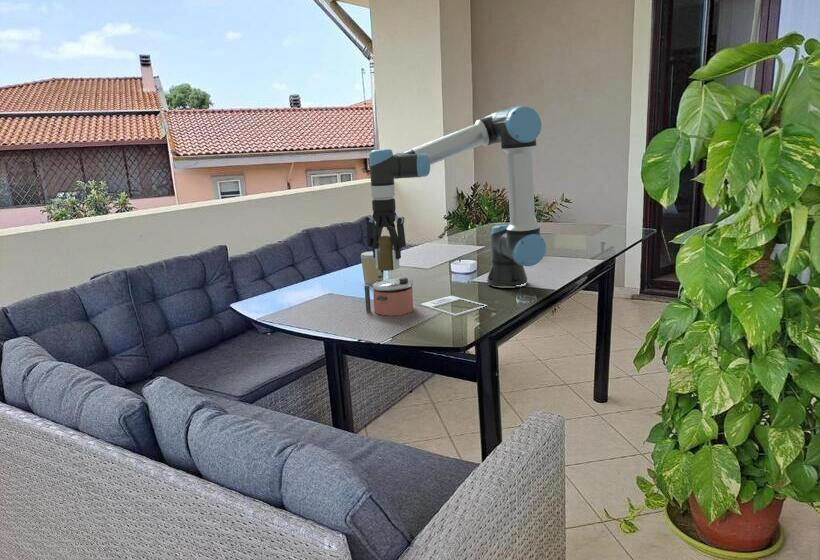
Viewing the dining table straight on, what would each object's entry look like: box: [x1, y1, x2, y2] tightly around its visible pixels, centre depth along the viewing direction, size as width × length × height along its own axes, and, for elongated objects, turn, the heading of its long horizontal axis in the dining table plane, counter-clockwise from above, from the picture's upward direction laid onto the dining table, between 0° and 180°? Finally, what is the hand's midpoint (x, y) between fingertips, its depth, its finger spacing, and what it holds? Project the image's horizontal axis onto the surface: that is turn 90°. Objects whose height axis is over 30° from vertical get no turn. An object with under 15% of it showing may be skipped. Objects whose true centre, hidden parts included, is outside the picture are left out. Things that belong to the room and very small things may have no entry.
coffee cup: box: [360, 250, 385, 286], centre depth 231 cm, size 9×9×12 cm
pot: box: [364, 278, 414, 317], centre depth 193 cm, size 14×16×9 cm
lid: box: [372, 277, 414, 291], centre depth 191 cm, size 14×14×2 cm
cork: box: [378, 235, 394, 272], centre depth 189 cm, size 6×6×11 cm
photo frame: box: [419, 295, 488, 317], centre depth 195 cm, size 15×1×18 cm
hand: (387, 267), depth 191 cm, fingers closed on cork, 6 cm apart
